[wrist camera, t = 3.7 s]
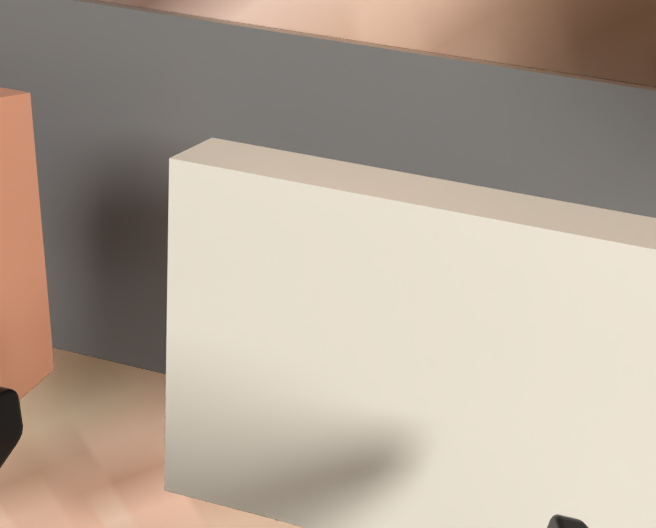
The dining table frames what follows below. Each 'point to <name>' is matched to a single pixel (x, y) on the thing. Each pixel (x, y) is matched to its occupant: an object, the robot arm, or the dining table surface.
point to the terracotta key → (21, 253)
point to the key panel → (274, 137)
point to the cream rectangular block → (404, 348)
